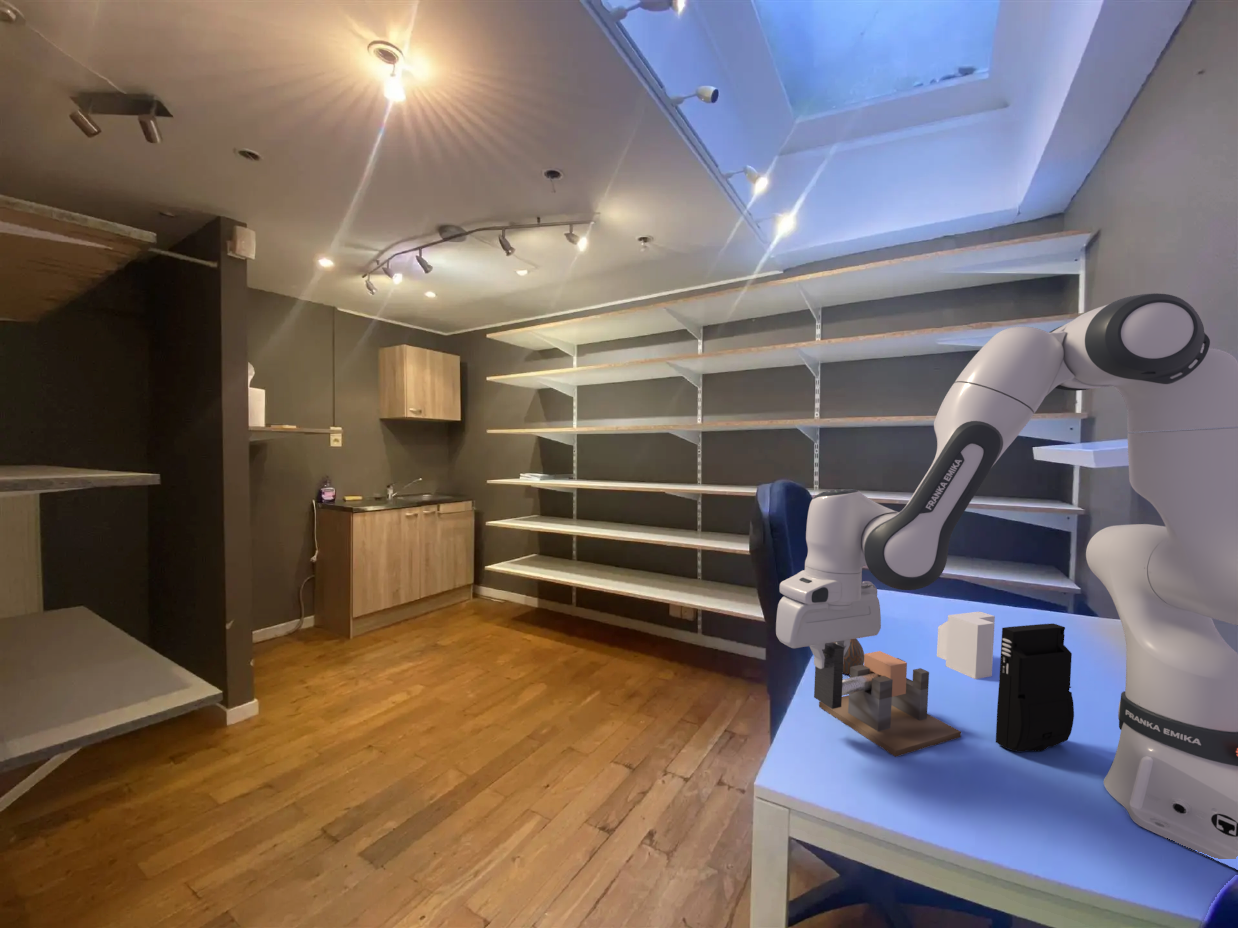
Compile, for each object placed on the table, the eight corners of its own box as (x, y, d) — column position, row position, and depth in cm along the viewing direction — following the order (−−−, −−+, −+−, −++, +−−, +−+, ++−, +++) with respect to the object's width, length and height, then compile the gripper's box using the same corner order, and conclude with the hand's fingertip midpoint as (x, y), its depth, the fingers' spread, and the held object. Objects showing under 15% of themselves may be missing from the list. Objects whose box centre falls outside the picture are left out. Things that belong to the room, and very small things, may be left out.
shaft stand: (960, 737, 83) (963, 682, 83) (895, 756, 77) (898, 698, 77) (879, 693, 98) (881, 646, 98) (819, 706, 92) (821, 657, 92)
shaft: (897, 693, 85) (900, 638, 85) (832, 708, 80) (834, 649, 79) (877, 683, 89) (880, 630, 89) (814, 697, 83) (816, 640, 83)
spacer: (905, 693, 85) (906, 662, 85) (889, 697, 84) (890, 665, 84) (878, 679, 90) (880, 650, 90) (863, 683, 89) (864, 653, 89)
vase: (831, 674, 106) (833, 635, 105) (827, 662, 112) (829, 624, 112) (866, 680, 104) (868, 639, 103) (860, 666, 110) (862, 628, 110)
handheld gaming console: (1044, 734, 85) (1050, 622, 84) (1074, 750, 80) (1081, 631, 80) (991, 743, 82) (997, 626, 81) (1020, 760, 77) (1027, 636, 77)
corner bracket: (975, 679, 106) (977, 625, 105) (926, 657, 116) (929, 608, 116) (1007, 673, 109) (1010, 620, 109) (958, 653, 120) (960, 605, 120)
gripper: (861, 575, 88) (858, 650, 89) (771, 584, 80) (768, 665, 81) (892, 584, 82) (888, 664, 83) (798, 594, 75) (795, 682, 75)
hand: (828, 665), depth 82 cm, fingers closed on shaft, 2 cm apart
